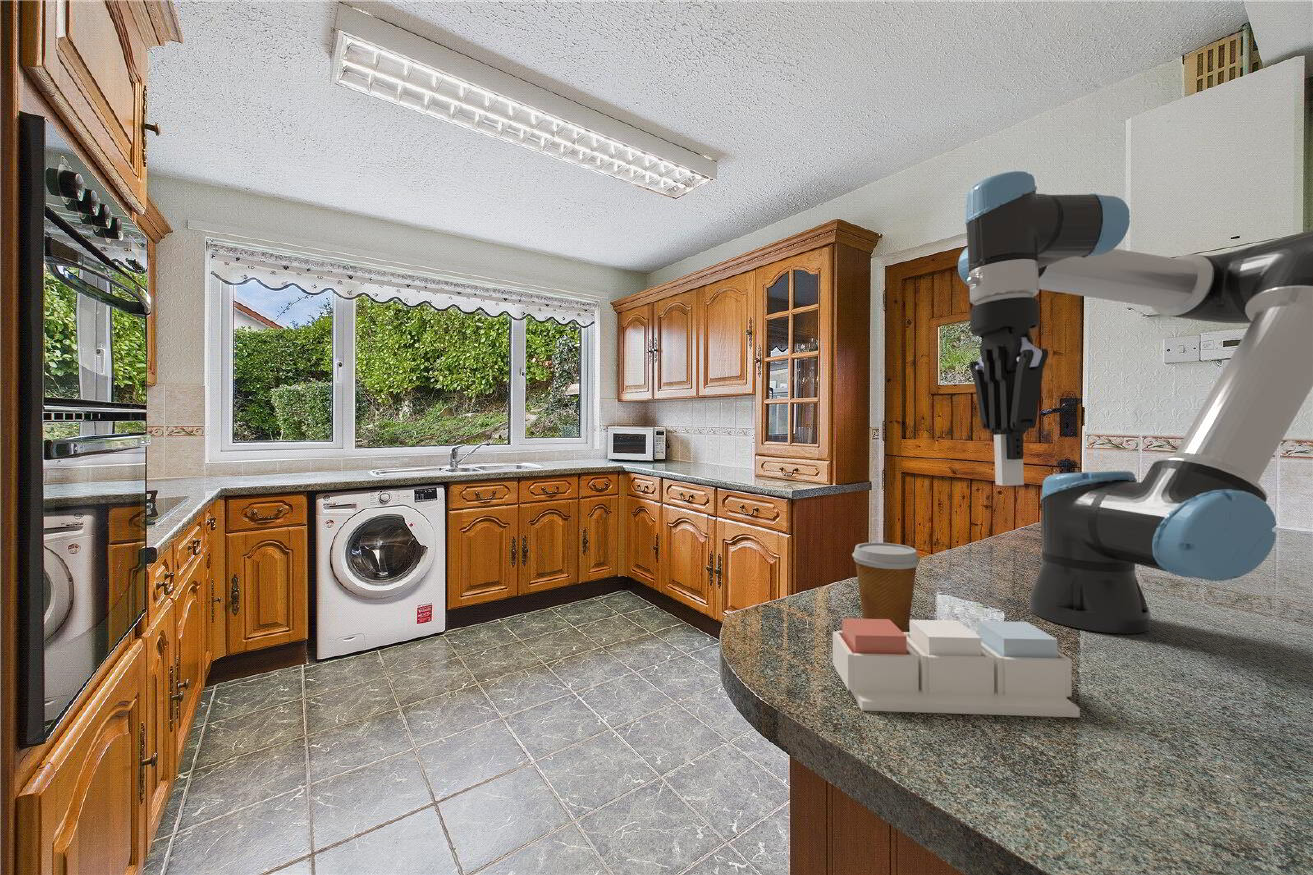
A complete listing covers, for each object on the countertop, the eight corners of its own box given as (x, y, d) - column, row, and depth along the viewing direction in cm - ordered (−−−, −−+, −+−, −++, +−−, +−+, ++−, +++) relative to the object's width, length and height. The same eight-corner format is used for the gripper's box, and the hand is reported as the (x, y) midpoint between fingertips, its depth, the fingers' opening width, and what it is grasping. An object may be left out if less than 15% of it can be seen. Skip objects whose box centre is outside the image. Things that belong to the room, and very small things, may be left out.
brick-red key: (889, 652, 67) (889, 619, 67) (906, 672, 61) (906, 636, 61) (842, 650, 67) (842, 618, 67) (855, 670, 62) (855, 635, 62)
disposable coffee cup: (928, 640, 78) (927, 556, 78) (857, 635, 80) (857, 553, 80) (911, 618, 87) (910, 543, 87) (848, 614, 89) (848, 541, 89)
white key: (957, 653, 66) (957, 620, 66) (981, 674, 61) (981, 638, 61) (909, 652, 67) (909, 619, 67) (929, 672, 61) (928, 636, 61)
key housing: (1020, 668, 69) (1020, 628, 69) (1087, 717, 57) (1087, 669, 57) (828, 663, 71) (827, 624, 71) (854, 710, 59) (854, 663, 59)
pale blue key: (1027, 655, 66) (1026, 621, 66) (1057, 676, 60) (1057, 639, 60) (978, 654, 66) (978, 621, 66) (1004, 674, 60) (1004, 638, 60)
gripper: (948, 313, 77) (954, 481, 77) (1004, 290, 64) (1011, 491, 64) (1002, 311, 77) (1008, 478, 77) (1069, 287, 64) (1076, 489, 64)
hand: (1009, 484), depth 71 cm, fingers closed
